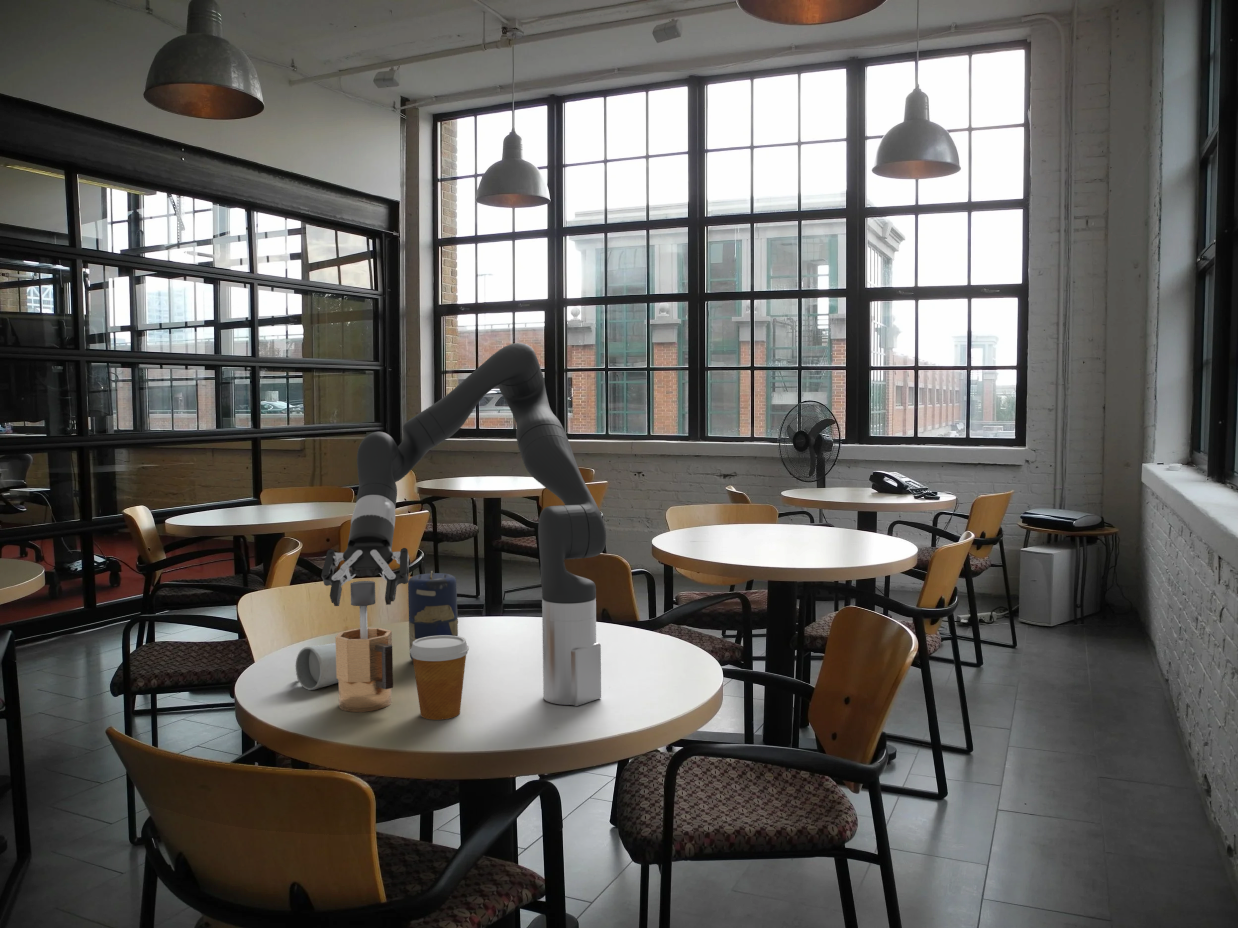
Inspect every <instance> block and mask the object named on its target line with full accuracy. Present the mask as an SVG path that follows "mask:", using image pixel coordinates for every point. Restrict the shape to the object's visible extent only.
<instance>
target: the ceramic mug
mask: <svg viewBox="0 0 1238 928" xmlns="http://www.w3.org/2000/svg"><path fill="white" fill-rule="evenodd" d="M295 676H296V679H297V681H298V682H299V683H300V685H301V687H303V688H304V689H306V690H308V691H314V690H317V689H321V688H325V687H328V686H329V687H330V686H332V685H335V684H338V679H337V676H336V642H332V643H326V644H318V645H309V646H305V647H303V648H302V649H300V650H299V652H298V654H297V656H296V659H295Z"/></svg>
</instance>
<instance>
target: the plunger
mask: <svg viewBox="0 0 1238 928" xmlns="http://www.w3.org/2000/svg"><path fill="white" fill-rule="evenodd" d="M375 604H376V581H373V580H360V581H359V580H358V581H353V582H350V605H351V606H353V607H359V628H360V639H368V629H367V628H368V607H369V606H373V605H375Z"/></svg>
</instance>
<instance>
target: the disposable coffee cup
mask: <svg viewBox="0 0 1238 928" xmlns="http://www.w3.org/2000/svg"><path fill="white" fill-rule="evenodd" d="M467 644H468V643H467V639H466V638H465V637H462V636H459V635H458V636H451V635H440V636H429V637H423V638H419V639H417V640H415V641H413V644H412V648H411V649H410V648H409V655H410V654H411V656H412V657H413V660H412V663H413V664H412V665H413V669H414V677H415V678H414V679H415V682H416V685H415V686H416V690H417V697H418V705H419V712H420V716H421V717H422V718H423V719H426V720H433V721H437V720H438V721H440V720H443V721H444V720H449V719H452V718H455V717H457V716H459V715H460V713H461V708H462V707H461V705H462V695H463V688H464V679H465V668H466V660H467V655H468V652H469V649H470V646H469V645H467Z"/></svg>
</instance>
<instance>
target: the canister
mask: <svg viewBox="0 0 1238 928" xmlns="http://www.w3.org/2000/svg"><path fill="white" fill-rule="evenodd" d="M457 588H458V587H457V578H456V576H454V575H452V574H449V573H441V572H440V573H439V572H438V573H437V572H436V573H435V572H433V570H430V573H421V574H416V575H414V576H411V577H410V578H408V583H407V593H408V594H407V595H408V599H407V601H408V603H407V604H408V639H409V640H408V641H409V645H408V646H409V650H410V649H411V648H412V644H413V641H415V640H417V639H419V638H423V637H429V636H440V635H451V636H459V629H458V628H459V627H458V626H459V625H458V624H459V618H458V596H457V595H458V589H457ZM409 658H410V659H411V660H412V661H413V657H412V656H411V654H410V653H409Z"/></svg>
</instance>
